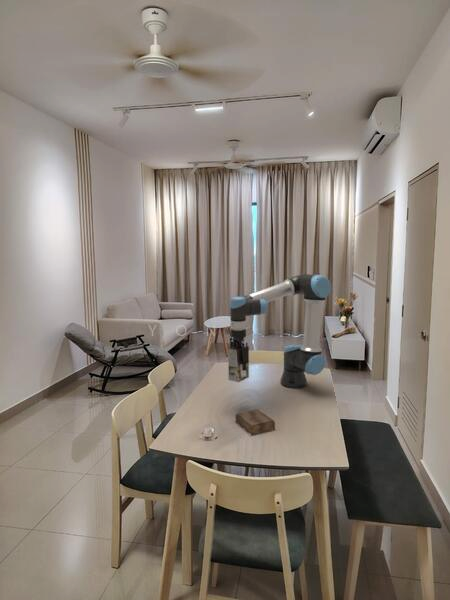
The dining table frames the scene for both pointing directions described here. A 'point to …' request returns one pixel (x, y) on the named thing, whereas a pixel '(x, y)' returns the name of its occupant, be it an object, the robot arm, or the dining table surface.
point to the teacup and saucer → (208, 431)
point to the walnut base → (255, 421)
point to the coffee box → (236, 364)
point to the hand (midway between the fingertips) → (238, 373)
